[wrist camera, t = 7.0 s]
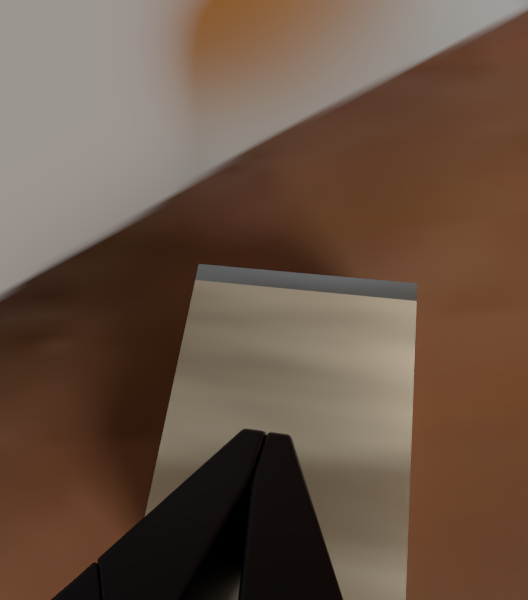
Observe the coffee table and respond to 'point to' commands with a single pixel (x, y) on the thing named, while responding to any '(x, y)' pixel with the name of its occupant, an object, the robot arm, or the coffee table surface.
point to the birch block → (306, 402)
